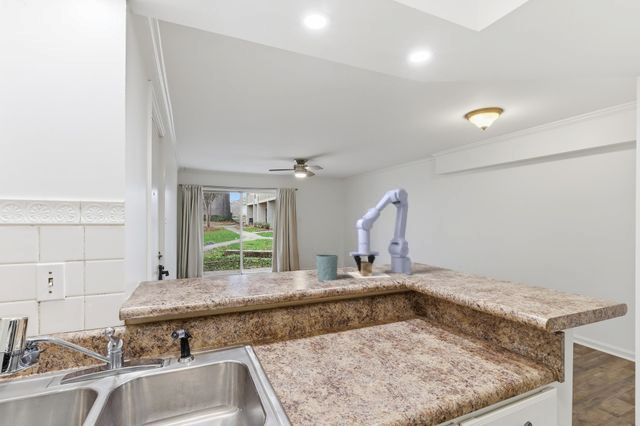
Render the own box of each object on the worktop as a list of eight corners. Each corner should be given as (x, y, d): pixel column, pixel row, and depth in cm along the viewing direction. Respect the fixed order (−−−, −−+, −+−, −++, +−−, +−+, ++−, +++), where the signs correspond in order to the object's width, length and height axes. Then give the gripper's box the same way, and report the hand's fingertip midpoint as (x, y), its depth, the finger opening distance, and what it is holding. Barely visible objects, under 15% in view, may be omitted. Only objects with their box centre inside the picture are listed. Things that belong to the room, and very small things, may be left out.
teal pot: (341, 282, 134) (341, 255, 135) (320, 284, 131) (320, 256, 131) (332, 278, 144) (332, 253, 144) (312, 280, 140) (312, 254, 140)
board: (380, 273, 156) (380, 271, 156) (392, 279, 140) (392, 277, 140) (347, 274, 153) (347, 272, 153) (355, 281, 137) (355, 278, 137)
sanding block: (365, 272, 152) (365, 260, 152) (371, 276, 142) (371, 263, 142) (357, 272, 151) (356, 261, 152) (362, 276, 142) (362, 263, 142)
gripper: (375, 242, 152) (375, 269, 151) (348, 242, 149) (348, 270, 149) (380, 243, 145) (380, 271, 144) (351, 244, 142) (351, 272, 142)
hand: (364, 270), depth 146 cm, fingers closed on sanding block, 4 cm apart
